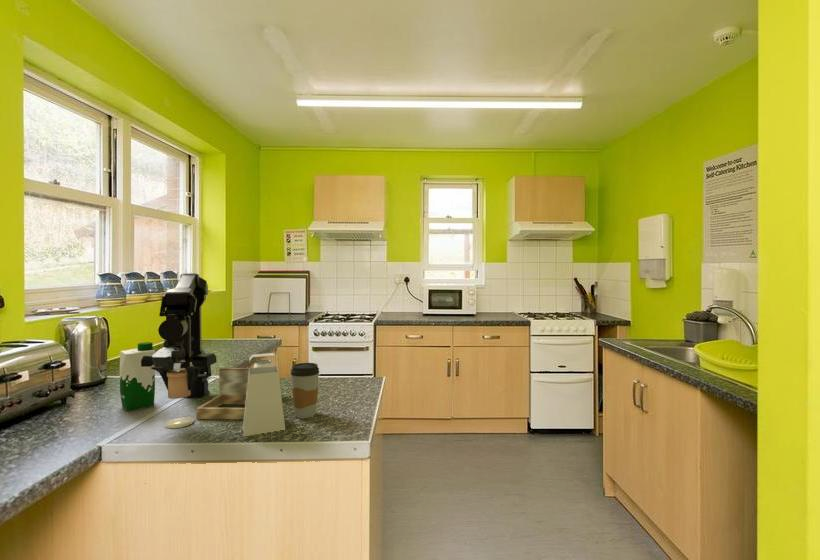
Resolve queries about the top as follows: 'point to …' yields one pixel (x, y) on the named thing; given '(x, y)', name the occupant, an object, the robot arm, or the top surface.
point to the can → (263, 363)
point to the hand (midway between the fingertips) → (179, 390)
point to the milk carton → (136, 378)
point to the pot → (178, 383)
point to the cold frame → (227, 395)
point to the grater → (263, 400)
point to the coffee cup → (305, 389)
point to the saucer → (179, 422)
